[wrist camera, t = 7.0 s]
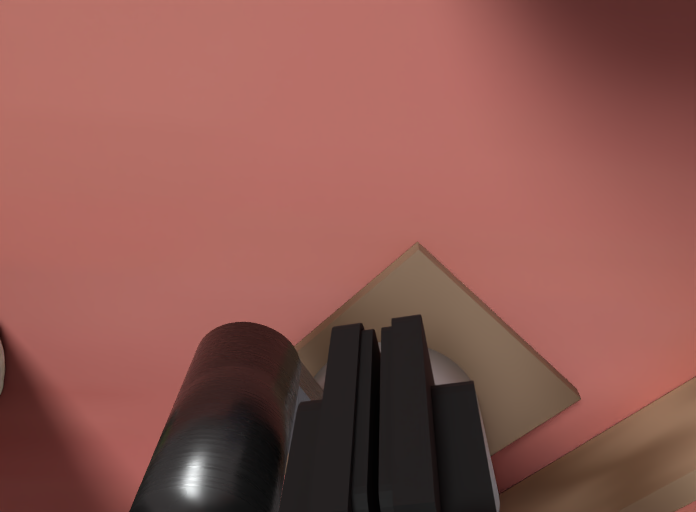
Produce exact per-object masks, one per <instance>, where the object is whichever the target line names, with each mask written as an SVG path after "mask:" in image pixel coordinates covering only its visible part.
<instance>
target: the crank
mask: <svg viewBox="0 0 696 512" xmlns="http://www.w3.org/2000/svg"><path fill="white" fill-rule="evenodd" d="M322 398H323V389H322V388H321V387H320V385H319V384H318V383H317V381H316V380H315V379H314V377H313V376H312V375H311V374H310V372H309V371H308V370H307V368H306V367H305V366H304V364H303V363H302V362H301V361H300V358H299V355H298V353H297V351H296V349H295V348H294V346H293V345H292V344H291V342H290V341H289V340H288V339H287V338H286V337H284V336H283V335H282V334H280V333H279V332H277V331H275V330H274V329H272V328H269V327H267V326H264V325H261V324H257V323H251V322H235V323H229V324H225V325H222V326H220V327H217V328H215V329H214V330H212V331H211V332H209V333H208V334H207V335H206V336H205V337H204V338H203V339H202V341H201V342H200V344H199V346H198V348H197V350H196V353H195V355H194V358H193V360H192V362H191V365H190V367H189V370H188V372H187V374H186V377H185V379H184V382H183V384H182V386H181V389H180V391H179V394H178V396H177V398H176V401H175V403H174V406H173V408H172V410H171V413H170V415H169V418H168V420H167V422H166V425H165V427H164V430H163V432H162V435H161V437H160V439H159V442H158V444H157V447H156V449H155V451H154V454H153V456H152V459H151V461H150V463H149V466H148V468H147V471H146V473H145V475H144V478H143V480H142V483H141V485H140V487H139V490H138V492H137V495H136V497H135V499H134V502H133V504H132V507H131V509H130V511H129V512H279V506H280V500H281V494H282V488H283V481H284V475H285V469H286V463H287V457H288V453H289V451H290V445H291V440H292V434H293V429H294V423H295V417H296V412H297V408H298V405H299V404H300V402H304V401H312V400H320V399H322Z"/></svg>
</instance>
